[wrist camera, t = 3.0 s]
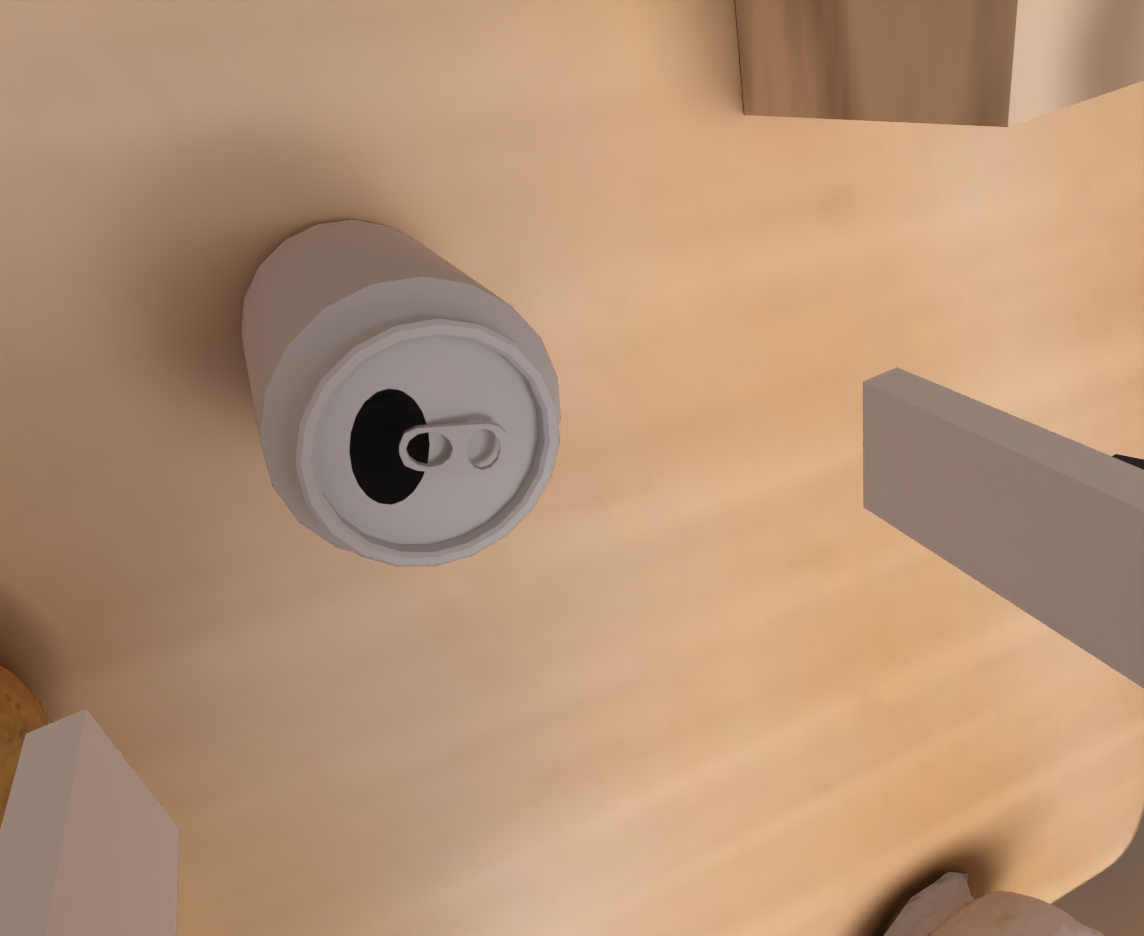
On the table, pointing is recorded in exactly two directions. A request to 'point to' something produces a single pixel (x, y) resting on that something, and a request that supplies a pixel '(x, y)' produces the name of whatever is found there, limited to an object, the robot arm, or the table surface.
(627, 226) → the table surface
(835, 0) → the kraft box
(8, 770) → the potato
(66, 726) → the robot arm
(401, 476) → the can
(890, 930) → the ceramic pitcher
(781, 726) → the table surface
